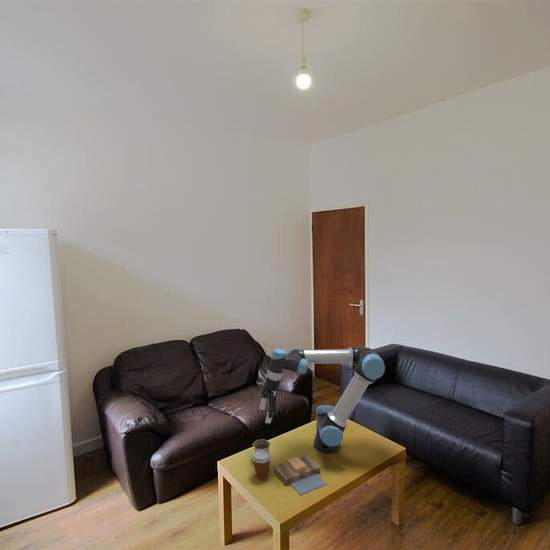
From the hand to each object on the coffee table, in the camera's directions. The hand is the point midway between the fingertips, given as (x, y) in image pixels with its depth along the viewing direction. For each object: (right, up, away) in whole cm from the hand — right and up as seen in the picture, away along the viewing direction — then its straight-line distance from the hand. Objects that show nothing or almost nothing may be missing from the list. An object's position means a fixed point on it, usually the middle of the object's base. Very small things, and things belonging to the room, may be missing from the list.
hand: (264, 415), depth 192 cm
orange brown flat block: (+17, -23, -7) cm, 29 cm away
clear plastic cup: (-2, -26, +5) cm, 26 cm away
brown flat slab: (+17, -26, -7) cm, 32 cm away
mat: (+22, -27, -17) cm, 38 cm away
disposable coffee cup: (-1, -27, -10) cm, 29 cm away
